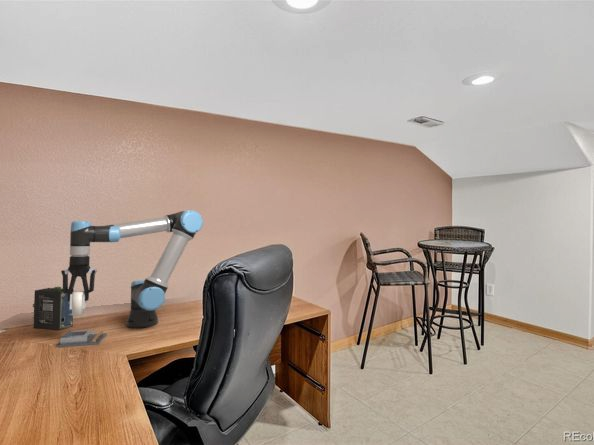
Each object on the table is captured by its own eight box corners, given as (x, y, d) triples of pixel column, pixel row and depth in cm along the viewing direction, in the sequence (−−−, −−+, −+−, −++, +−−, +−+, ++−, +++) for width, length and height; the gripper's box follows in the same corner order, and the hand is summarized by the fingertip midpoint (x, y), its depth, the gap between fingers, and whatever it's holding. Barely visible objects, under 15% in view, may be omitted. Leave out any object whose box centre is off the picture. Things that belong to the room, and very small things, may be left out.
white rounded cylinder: (84, 313, 152) (85, 290, 153) (81, 315, 148) (82, 292, 149) (73, 313, 151) (74, 291, 152) (70, 315, 147) (71, 292, 147)
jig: (106, 335, 159) (106, 327, 159) (98, 344, 146) (99, 336, 146) (67, 337, 154) (67, 330, 154) (56, 347, 142) (56, 339, 142)
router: (61, 330, 165) (62, 289, 165) (30, 328, 168) (32, 288, 169) (75, 326, 172) (76, 287, 173) (45, 323, 176) (46, 285, 176)
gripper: (103, 255, 156) (101, 305, 156) (61, 255, 152) (59, 307, 151) (98, 256, 149) (97, 309, 149) (54, 256, 144) (51, 311, 144)
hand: (77, 308), depth 150 cm, fingers closed on white rounded cylinder, 4 cm apart
